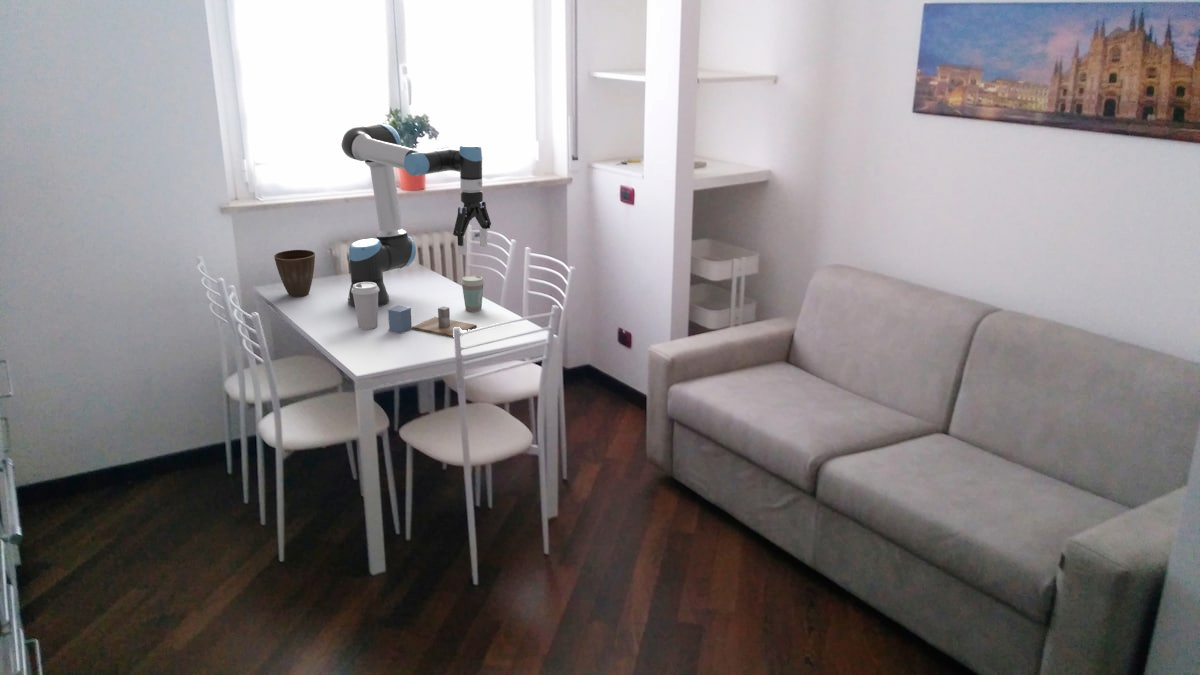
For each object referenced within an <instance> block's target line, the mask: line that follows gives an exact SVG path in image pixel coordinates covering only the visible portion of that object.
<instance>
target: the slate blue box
mask: <svg viewBox="0 0 1200 675" xmlns="http://www.w3.org/2000/svg"><path fill="white" fill-rule="evenodd" d="M411 310H412V308H411V307H410V306H409V307H408V306H403V305H396V306H394V307H391V308H388V309H387V311H388V312H387V315H388V316H387V317H388V330H389V331H391V332H394V333H395V332H396V333H400V334H403V333H405V332H408V331H411V330H413V329H412V327H413V326H412V311H411Z"/></svg>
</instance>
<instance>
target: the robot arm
mask: <svg viewBox="0 0 1200 675" xmlns="http://www.w3.org/2000/svg"><path fill="white" fill-rule="evenodd" d="M401 142H402V141H401V137H400V135H399V133H398V131H397V130H396V129H395V128H394V127H393V126H392V125H390V124H386V123H385V124H383V123H382V124H381V123H375V124H371V125H370V124H369V125H361V126H359V125H358V126H354V127H351V128H349V129H347V130H346V131H345V132H344V133H343V135H342V137H341V142H340V146H341V149H342V151H343V153H344V155H346V156H347V157H348V158H350V159H352V160H356V161H360V162H364V164H365V165H367V166H368V167H369V168H370V169H369V170H370V171H369V172H370V176H371V183H372V190H373V197H374V202H375V208H376V209H375V210H376V215H377V216H376V217H377V222H378V229H379V231H378V232H377V234H376V238H372V237H371V238H370V237H369V238H367V239H366V238H364V239H363V238H362V239H358V240H356V241H354V242H353V243H351V244H350V245H349V247H348V251H349V253H348V258H349V267H350V268H349V270H350V281H351V285H350V288H349V293H348V296H347V303H348V305H349V306H351V307H355V303H354V298H353V293H351V290H352V288H353V285H354V284H356V283H360V282H373V283H376V284H377V286H378V287H379V290H380V291H379V292H378V307H382V306H384V305H387V304H388V303H389V302H390V295H389V293H388V292H387V289H386V288H387V287H386V285H385V282H384V272H388V271H392V270H395V269H402V268H404V267H407V266H409V265H411V264H412V263H413V261H414V260H415V258H416V254H417V246H416V244H415V241H414V240H413V238H412V237H411V236H409V235H408V231H406V230H405V229H404V228H403V225H402V224H403V223H402V217H401V210H400V203H399V197H398V195H399V194H398V190H397V189H398V188H397V180H396V175H395V170H394V168H397V169H401V170H405V171H406V172H407V174H409V175H410V176H419V177H420V176H424V175H429V174H430V175H431V174H435V173H441V172H448V171H450V172H451V171H452V172H453V171H454V172H459V175H460V176H459V178H460V180H459V181H460V186H459V187H460V190H461V191H460V201H461V203H463V207H462V206H459V207H458V208H457V216H456V220H455V224H454V228H453V233H452V235H453V236H455V237H457V251H458V252H457V254H458V255H461V256H467V246H466V245H467V241H466V236H465V234H466V231H467V229H468V226H469V224H470V222H471V221H472V219H473V218H475V219H476V221H477V223H478V224H479V247H484V248H487V247H488V229H491V226H492V222H491V219H490V216H489V212H488V209H487V204H486V201H484V195H483V194H484V192H483V191H482V190H483V155H482V154H483V153H482V147H481V146H480V145H477V144H461V145H460V146H459V149H457V148H452V147H448V146H446V147H443V146H442V147H441V146H440V147H437V148H436V149H435V150H426V151H422V150H419V149H418V150H417V149H414V148H410V147H407V146H402V143H401Z"/></svg>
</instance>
